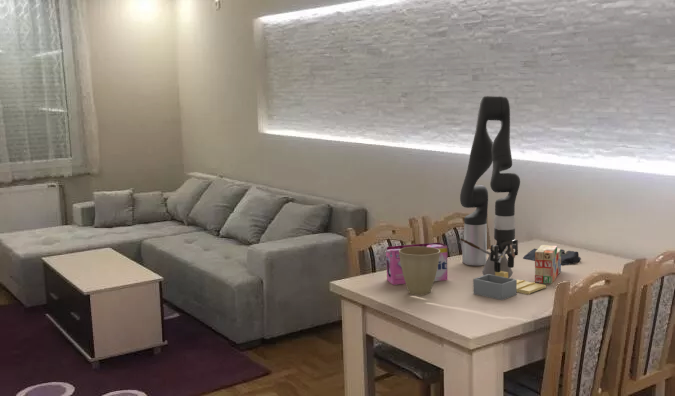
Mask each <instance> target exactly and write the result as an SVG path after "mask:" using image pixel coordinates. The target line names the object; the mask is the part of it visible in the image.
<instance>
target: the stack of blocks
mask: <svg viewBox="0 0 675 396" xmlns="http://www.w3.org/2000/svg"><path fill="white" fill-rule="evenodd" d="M536 249H537V250H536V251H535V261H534V282H539V283H538V284H546V283H552V284H553V283H554V281H555V280H556V279H557V276H558V275H559V274H560V273H561V270H562V265H561V249H562V248H559V247H558V245H548V244H541V245H540V246H539V247H538V248H536Z"/></svg>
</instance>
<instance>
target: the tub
mask: <svg viewBox="0 0 675 396" xmlns="http://www.w3.org/2000/svg"><path fill="white" fill-rule="evenodd" d="M472 280H473V281H472V282H473V283H472V284H473V286H472V287H473V288H472V289H473V290H472V293H473V295H477V296H483V297H487V298H491V299H495V300H501V301H503V300H506V299H508V298H510V297H511V298H512V297H513V296H516V295H517V292H516V290H517V280H518V279H517V280H516V278H511V277H510V278H506V277H501V276H496V275H490V274H487V275H481V276H478V277H475V278H473V279H472Z"/></svg>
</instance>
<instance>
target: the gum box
mask: <svg viewBox="0 0 675 396" xmlns="http://www.w3.org/2000/svg"><path fill="white" fill-rule="evenodd" d="M417 246H420V247H432V248H437V249H439V250H440V256H439V263H438V268H437V272H436V276H435V279H434V282H439V281H447V280H448V245H446V244H444V243H442V242H427V243H426V242H425V243H417V244H414V243H413V244H406V245H405V244H404V245H393V246H387V247H386V253H385V258H386V281H388V283H390V284H391V285H393V286H394V285H406V282H405V279H404V276H403V272H402V267H401V262H400V256H399V250H400V249H402V248H405V247H417Z"/></svg>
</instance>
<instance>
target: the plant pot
mask: <svg viewBox="0 0 675 396" xmlns="http://www.w3.org/2000/svg"><path fill="white" fill-rule="evenodd" d="M399 256H400V262H401V267H402V272H403V276H404V279H405V282H406V284H405V285H406V288H407V291H408V293H409V294H410V295H411V294H412V295H415V296H416V295H421V296H423V295H428V294H430V293H431V291H432V288H433V285H434V282H435V281H434V279H435V276H436V272H437V268H438V263H439V256H440V250H439V249H437V248H432V247H420V246H417V247H405V248H402V249H400V250H399Z"/></svg>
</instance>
